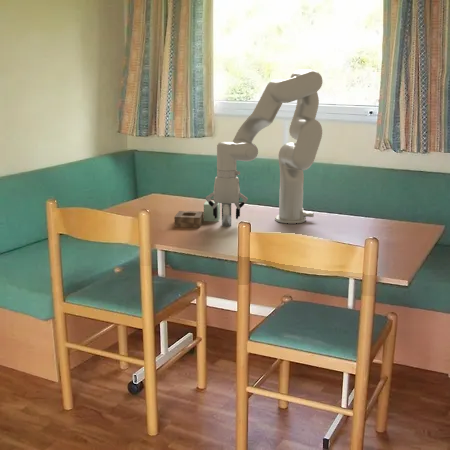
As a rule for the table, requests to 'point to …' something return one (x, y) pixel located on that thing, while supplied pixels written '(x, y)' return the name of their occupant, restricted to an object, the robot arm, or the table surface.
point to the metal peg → (226, 214)
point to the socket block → (189, 219)
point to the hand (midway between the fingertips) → (226, 217)
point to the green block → (211, 212)
